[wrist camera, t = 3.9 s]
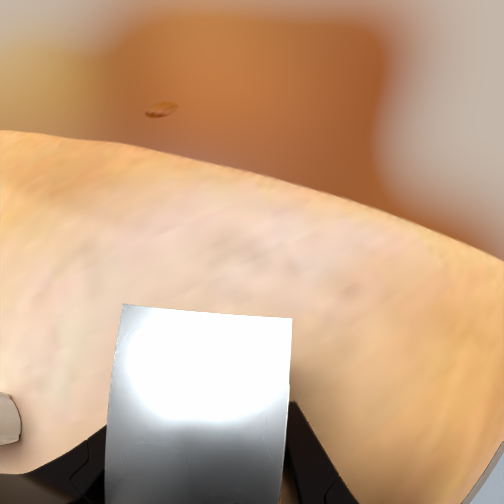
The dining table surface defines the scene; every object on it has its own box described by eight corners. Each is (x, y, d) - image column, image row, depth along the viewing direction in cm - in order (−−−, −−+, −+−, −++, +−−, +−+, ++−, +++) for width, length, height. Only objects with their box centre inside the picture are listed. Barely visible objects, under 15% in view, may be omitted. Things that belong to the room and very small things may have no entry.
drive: (269, 481, 13) (269, 601, 3) (200, 474, 13) (109, 569, 3) (279, 362, 16) (299, 318, 6) (210, 357, 16) (122, 303, 6)
